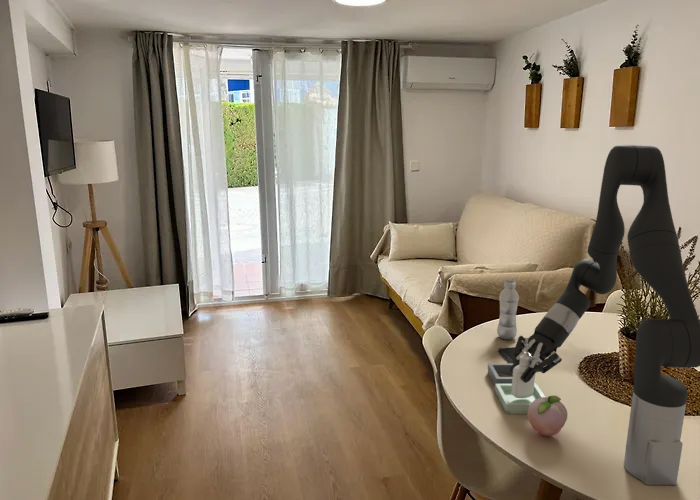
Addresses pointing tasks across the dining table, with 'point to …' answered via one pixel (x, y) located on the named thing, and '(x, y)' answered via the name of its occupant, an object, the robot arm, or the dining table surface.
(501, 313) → the plastic bottle
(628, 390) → the dining table surface
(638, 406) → the robot arm
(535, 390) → the tray
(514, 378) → the eye dropper bottle
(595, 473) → the dining table surface
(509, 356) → the phone
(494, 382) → the grey square tray
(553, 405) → the decorative fruit
